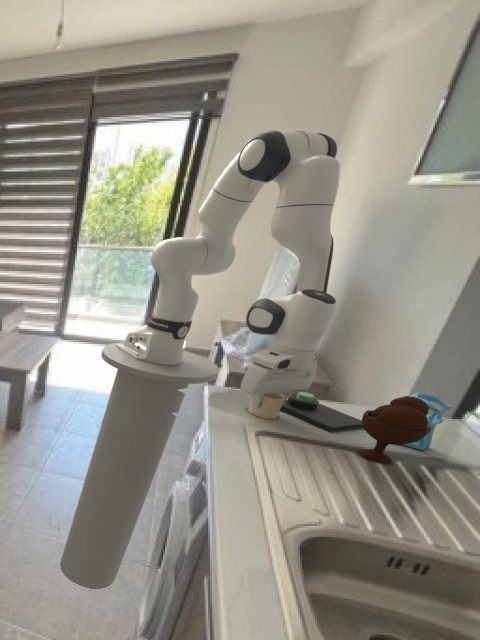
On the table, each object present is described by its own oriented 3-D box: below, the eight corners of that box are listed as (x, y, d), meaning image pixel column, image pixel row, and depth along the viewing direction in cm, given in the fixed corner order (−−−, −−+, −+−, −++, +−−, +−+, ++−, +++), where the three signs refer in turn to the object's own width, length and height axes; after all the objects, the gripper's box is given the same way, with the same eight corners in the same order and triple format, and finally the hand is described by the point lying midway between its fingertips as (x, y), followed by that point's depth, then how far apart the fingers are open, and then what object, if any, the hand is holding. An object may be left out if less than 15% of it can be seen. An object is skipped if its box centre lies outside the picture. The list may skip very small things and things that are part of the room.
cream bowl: (242, 409, 131) (250, 390, 129) (259, 407, 133) (268, 389, 130) (264, 419, 126) (273, 400, 123) (282, 417, 127) (291, 398, 125)
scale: (269, 405, 135) (274, 395, 133) (303, 401, 138) (308, 392, 136) (329, 431, 121) (335, 421, 120) (365, 427, 124) (372, 416, 123)
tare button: (292, 398, 133) (295, 392, 132) (301, 397, 134) (304, 391, 133) (305, 403, 130) (308, 397, 129) (315, 402, 131) (318, 396, 130)
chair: (419, 452, 113) (450, 407, 107) (375, 437, 119) (402, 393, 114) (433, 446, 116) (464, 401, 110) (389, 431, 123) (416, 388, 117)
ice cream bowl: (339, 441, 117) (372, 384, 110) (401, 456, 111) (440, 397, 104) (345, 458, 109) (381, 398, 102) (412, 475, 103) (454, 413, 96)
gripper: (307, 351, 127) (283, 398, 133) (247, 354, 122) (226, 404, 128) (332, 359, 122) (306, 408, 128) (271, 363, 116) (248, 414, 123)
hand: (266, 406), depth 128 cm, fingers closed on cream bowl, 6 cm apart
